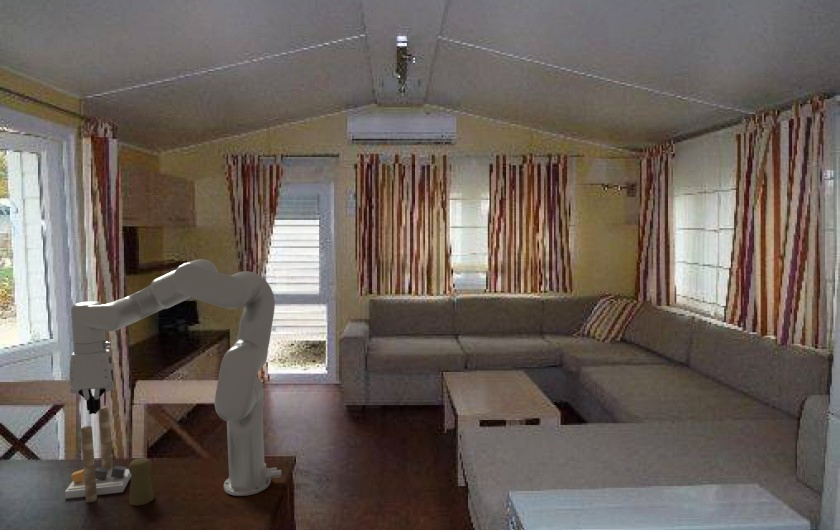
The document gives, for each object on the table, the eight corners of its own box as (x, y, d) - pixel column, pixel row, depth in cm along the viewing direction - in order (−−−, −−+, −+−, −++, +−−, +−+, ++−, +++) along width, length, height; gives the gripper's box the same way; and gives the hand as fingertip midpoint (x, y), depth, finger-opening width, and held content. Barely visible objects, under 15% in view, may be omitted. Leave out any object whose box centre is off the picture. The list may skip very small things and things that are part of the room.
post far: (114, 471, 167) (109, 405, 165) (111, 475, 165) (107, 409, 163) (104, 472, 167) (99, 406, 165) (101, 476, 164) (96, 409, 162)
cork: (144, 506, 148) (141, 466, 147) (123, 504, 149) (121, 464, 148) (159, 494, 154) (156, 456, 153) (139, 492, 155) (137, 454, 154)
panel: (131, 475, 165) (131, 467, 165) (122, 492, 155) (122, 484, 155) (78, 480, 162) (77, 473, 162) (65, 498, 152) (64, 490, 152)
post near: (98, 496, 153) (93, 425, 151) (95, 501, 150) (90, 429, 148) (87, 498, 152) (82, 426, 150) (84, 503, 150) (79, 430, 148)
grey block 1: (106, 476, 160) (108, 468, 160) (104, 480, 158) (106, 472, 158) (95, 475, 159) (97, 467, 159) (93, 478, 157) (94, 470, 157)
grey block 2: (124, 475, 161) (126, 466, 161) (122, 478, 159) (124, 470, 159) (112, 473, 160) (114, 465, 160) (110, 476, 158) (112, 468, 158)
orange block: (87, 476, 159) (84, 468, 158) (85, 479, 157) (82, 471, 156) (76, 480, 158) (73, 472, 158) (74, 483, 156) (70, 475, 156)
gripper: (123, 342, 160) (127, 405, 162) (64, 345, 156) (68, 409, 158) (116, 349, 152) (120, 415, 154) (53, 352, 149) (58, 419, 151)
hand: (94, 412), depth 156 cm, fingers closed
